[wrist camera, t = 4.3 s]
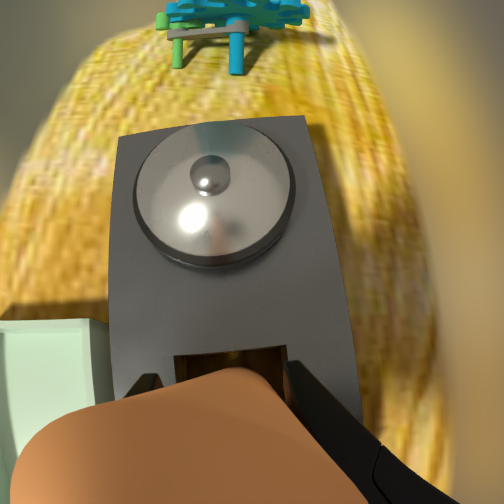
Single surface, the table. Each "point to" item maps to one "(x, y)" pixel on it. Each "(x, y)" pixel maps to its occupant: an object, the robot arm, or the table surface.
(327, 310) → the plate
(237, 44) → the gear
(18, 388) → the tray
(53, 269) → the table surface
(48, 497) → the pin
